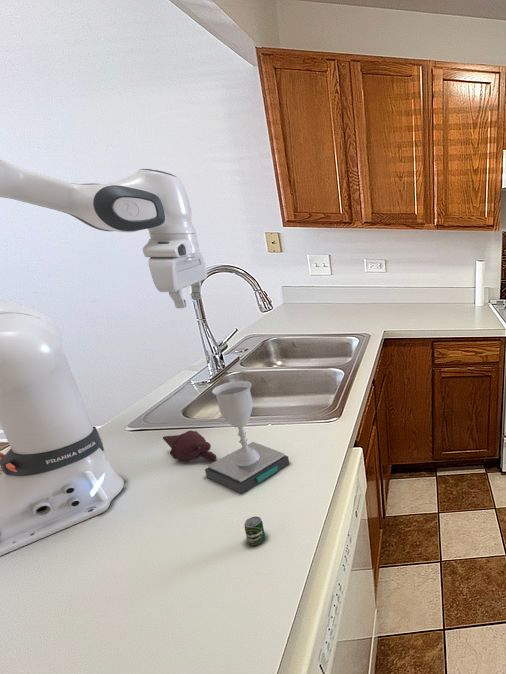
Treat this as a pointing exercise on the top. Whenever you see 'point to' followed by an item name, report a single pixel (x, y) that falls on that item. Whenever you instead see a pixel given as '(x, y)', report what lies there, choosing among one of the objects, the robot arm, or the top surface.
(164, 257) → the robot arm
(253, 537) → the beer can
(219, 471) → the scale pan
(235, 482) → the scale
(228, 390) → the chalice
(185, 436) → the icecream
